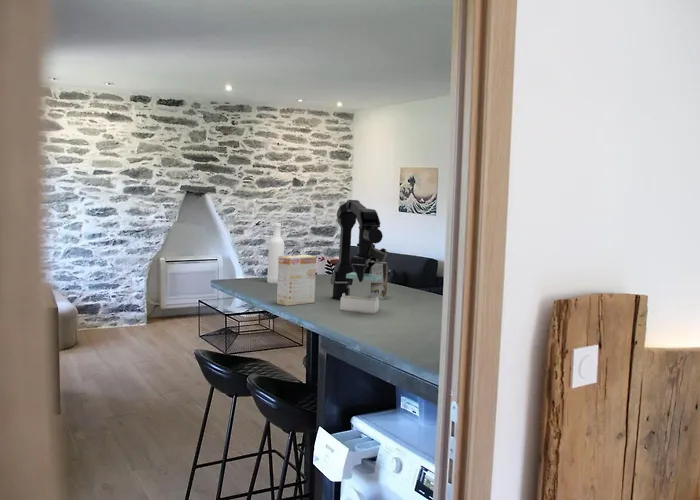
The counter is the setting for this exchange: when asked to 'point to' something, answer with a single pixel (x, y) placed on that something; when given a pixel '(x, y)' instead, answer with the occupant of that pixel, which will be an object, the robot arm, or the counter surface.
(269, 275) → the bottle
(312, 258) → the coffeecake box
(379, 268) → the coffee box
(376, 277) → the lid
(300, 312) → the counter surface
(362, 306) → the tub
